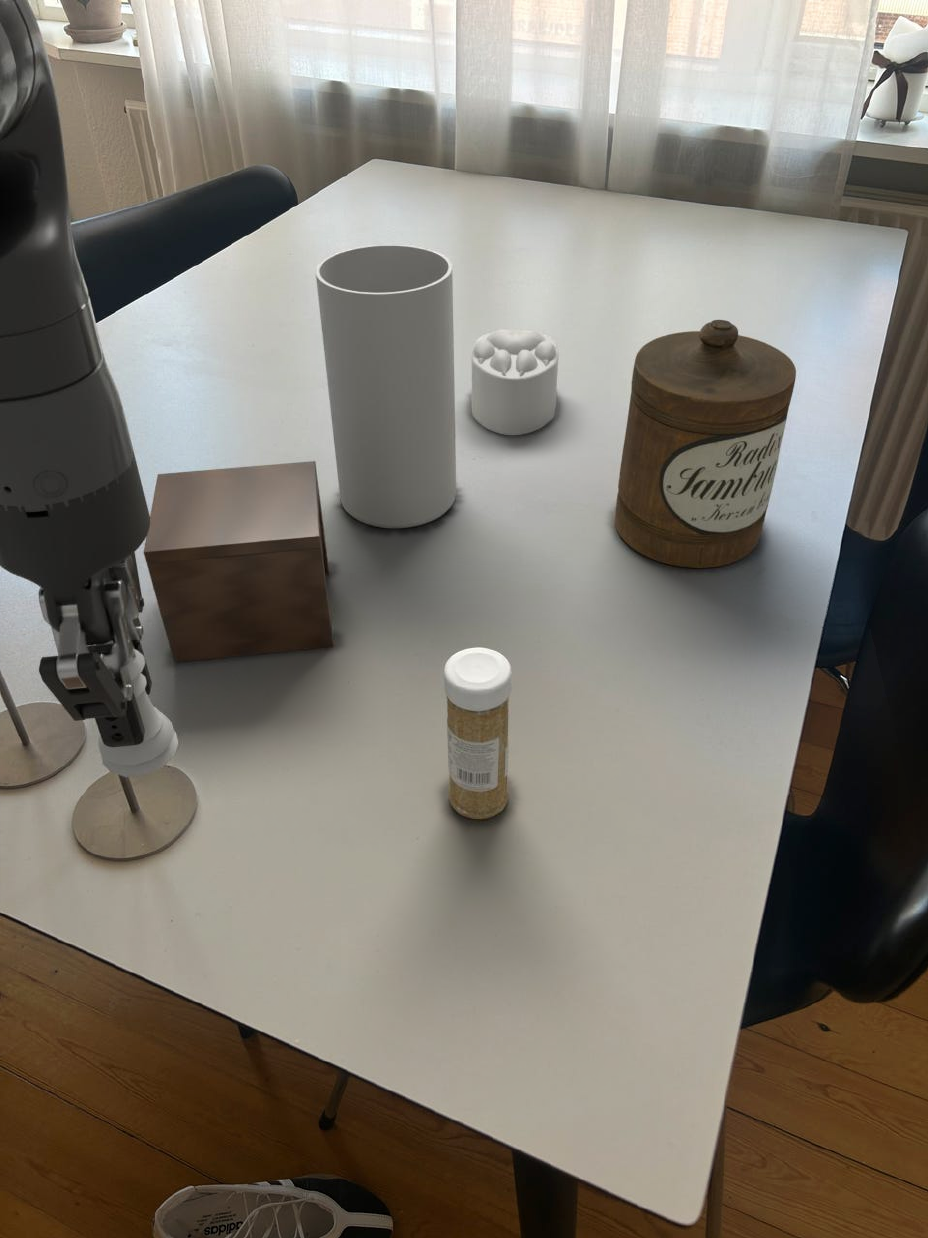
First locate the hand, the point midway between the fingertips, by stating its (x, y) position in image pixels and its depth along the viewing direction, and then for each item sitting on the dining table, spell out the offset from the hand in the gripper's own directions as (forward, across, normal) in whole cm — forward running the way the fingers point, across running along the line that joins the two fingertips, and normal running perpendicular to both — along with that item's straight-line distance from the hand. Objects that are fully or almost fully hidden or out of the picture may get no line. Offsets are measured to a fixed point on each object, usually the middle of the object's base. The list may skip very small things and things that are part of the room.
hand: (129, 716), depth 56 cm
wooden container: (+17, -37, +48) cm, 63 cm away
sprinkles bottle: (+17, -5, +21) cm, 28 cm away
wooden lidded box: (+17, -30, +4) cm, 35 cm away
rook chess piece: (+3, 0, 0) cm, 3 cm away
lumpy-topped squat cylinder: (+17, -65, +35) cm, 76 cm away
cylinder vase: (+17, -47, +19) cm, 54 cm away
